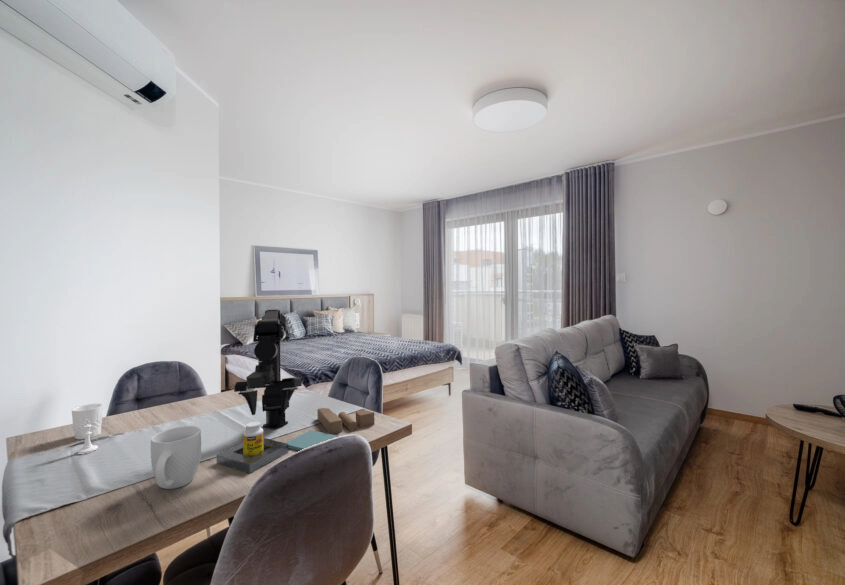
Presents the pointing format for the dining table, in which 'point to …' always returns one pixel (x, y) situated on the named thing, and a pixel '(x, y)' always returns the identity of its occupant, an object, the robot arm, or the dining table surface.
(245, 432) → the supplement bottle
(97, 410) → the white cup
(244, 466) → the frame
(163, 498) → the dining table surface
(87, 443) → the chess piece
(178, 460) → the mug
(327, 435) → the mat
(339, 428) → the wooden block set
